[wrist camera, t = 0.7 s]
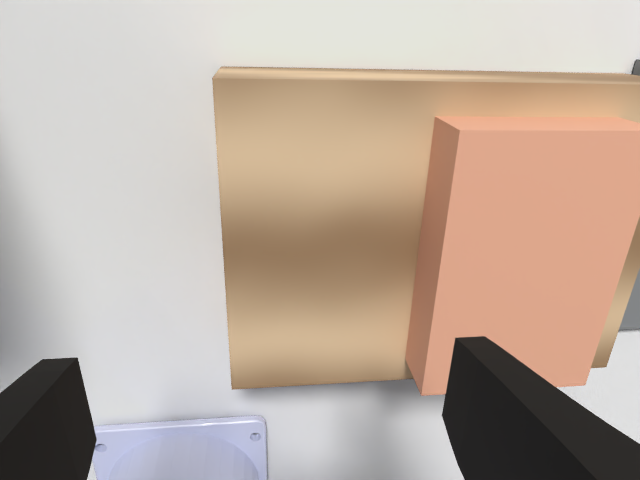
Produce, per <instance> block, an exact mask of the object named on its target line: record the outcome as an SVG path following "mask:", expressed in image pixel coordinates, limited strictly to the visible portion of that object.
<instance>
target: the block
mask: <svg viewBox="0 0 640 480" xmlns="http://www.w3.org/2000/svg"><path fill="white" fill-rule="evenodd" d="M639 217H640V123H637V122H634V121H630V120H627V119H623V118H619V117H472V116H435V120H434V128H433V136H432V144H431V152H430V160H429V168H428V176H427V185H426V193H425V201H424V209H423V217H422V225H421V233H420V242H419V250H418V258H417V266H416V274H415V282H414V290H413V299H412V307H411V315H410V323H409V331H408V339H407V347H406V356H405V359H406V362H407V364H408V366H409V368H410V371H411V373H412V375H413V378H414V380H415V382H416V385H417V387H418V389H419V392H420V394H421V396H425V395H441V394H446V389H447V383H448V378H449V372H450V366H451V360H452V354H453V348H454V342H455V338H459V337H478V336H485V337H487V338H488V339H490V340H491V341H493V342H494V343H496V344H497V345H498V346H500V347H501V348H503V349H504V350H505V351H507V352H508V353H510V354H511V355H512V356H514V357H515V358H516V359H518V360H519V361H521V362H522V363H523V364H525V365H526V366H527V367H529V368H530V369H531V370H533V371H534V372H536V373H537V374H538V375H540V376H541V377H542V378H544V379H545V380H546V381H548V382H549V383H551V384H552V385H553V386H555V387H566V386H582V385H585V384H586V381H587V378H588V375H589V372H590V369H591V366H592V362H593V359H594V356H595V353H596V350H597V347H598V344H599V341H600V338H601V335H602V331H603V328H604V325H605V322H606V319H607V316H608V313H609V310H610V307H611V304H612V300H613V297H614V294H615V291H616V288H617V285H618V282H619V279H620V276H621V272H622V269H623V266H624V263H625V260H626V257H627V254H628V251H629V248H630V245H631V241H632V238H633V235H634V232H635V229H636V226H637V223H638V220H639Z"/></svg>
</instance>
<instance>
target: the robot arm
mask: <svg viewBox="0 0 640 480" xmlns="http://www.w3.org/2000/svg"><path fill="white" fill-rule="evenodd" d="M442 417H443V420H444V423H445V426H446V430H447V433H448V436H449V439H450V443H451V446H452V449H453V451H454V454H455V457H456V460H457V463H458V466H459V468H460V470H461V473H462V475H463V477H464V479H465V480H640V444H639V443H637V442H636V441H634V440H633V439H631V438H629V437H628V436H626V435H625V434H623V433H622V432H620V431H619V430H617V429H616V428H614V427H612V426H611V425H609V424H608V423H606V422H605V421H603V420H602V419H600V418H599V417H597V416H596V415H595V414H593V413H592V412H590V411H589V410H587V409H586V408H584V407H583V406H581V405H580V404H579V403H577V402H576V401H574V400H573V399H571V398H570V397H569V396H567V395H566V394H564V393H563V392H562V391H560V390H559V389H557V388H556V387H555V386H553V385H552V384H551V383H549V382H548V381H546V380H545V379H544V378H542V377H541V376H540V375H538V374H537V373H536V372H534V371H533V370H531V369H530V368H529V367H527V366H526V365H525V364H523V363H522V362H521V361H519V360H518V359H516V358H515V357H514V356H512V355H511V354H510V353H508V352H507V351H505V350H504V349H503V348H501V347H500V346H498V345H497V344H496V343H494V342H493V341H491V340H490V339H488V338H487V337H485V336H478V337H459V338H455V342H454V348H453V354H452V360H451V366H450V372H449V378H448V383H447V389H446V395H445V401H444V407H443V413H442ZM253 433H259V434H256V435H254V434H253ZM100 444H104V445H100ZM91 461H93V465H94V469H95V473H96V478H97V480H267V451H266V422H265V419H264V418H263V417H261V416H239V417H224V418H209V419H194V420H179V421H164V422H148V423H133V424H118V425H103V426H96V427H94V426H93V422H92V417H91V413H90V409H89V405H88V400H87V396H86V392H85V387H84V383H83V379H82V375H81V370H80V366H79V362H78V358H60V359H42V360H41V361H40V362H38V363H37V364H36V365H35V366H33V367H32V368H31V369H29V370H28V371H27V372H26V373H24V374H23V375H22V376H21V377H19V378H18V379H17V380H16V381H15V382H13V383H12V384H11V385H10V386H8V387H7V388H6V389H5V390H4V391H2V392H1V393H0V480H87V477H88V473H89V470H90V466H91Z"/></svg>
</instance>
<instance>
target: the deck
mask: <svg viewBox="0 0 640 480" xmlns="http://www.w3.org/2000/svg"><path fill="white" fill-rule="evenodd" d="M212 80H213V96H214V112H215V128H216V144H217V160H218V176H219V192H220V208H221V224H222V241H223V257H224V273H225V289H226V305H227V321H228V337H229V353H230V369H231V385H232V389H248V388H265V387H282V386H299V385H316V384H333V383H350V382H366V381H383V380H400V379H414V378H413V375H412V373H411V371H410V368H409V366H408V364H407V362H406V359H405V356H406V347H407V339H408V331H409V323H410V315H411V307H412V299H413V290H414V282H415V274H416V266H417V258H418V250H419V242H420V233H421V225H422V217H423V209H424V201H425V193H426V185H427V176H428V168H429V160H430V152H431V144H432V136H433V128H434V120H435V116H472V117H619V118H623V119H627V120H630V121H634V122H637V123H640V76H637V75H631V74H621V73H563V72H505V71H447V70H389V69H331V68H273V67H220V69H219V70H218V71H217V73H216V74H215V75H214V77H213V78H212ZM639 268H640V217H639V220H638V223H637V226H636V229H635V232H634V235H633V238H632V241H631V245H630V248H629V251H628V254H627V257H626V260H625V263H624V266H623V269H622V272H621V276H620V279H619V282H618V285H617V288H616V291H615V294H614V297H613V300H612V304H611V307H610V310H609V313H608V316H607V319H606V322H605V325H604V328H603V331H602V335H601V338H600V341H599V344H598V347H597V350H596V353H595V356H594V359H593V362H592V366H591V368H602V367H606V366H607V363H608V360H609V357H610V354H611V351H612V348H613V345H614V342H615V339H616V336H617V333H618V330H619V328H620V325H621V322H622V319H623V316H624V313H625V310H626V307H627V304H628V301H629V298H630V295H631V292H632V289H633V286H634V283H635V280H636V277H637V274H638V271H639Z"/></svg>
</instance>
